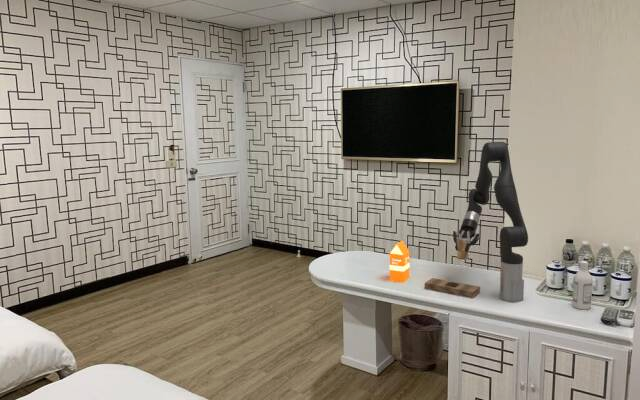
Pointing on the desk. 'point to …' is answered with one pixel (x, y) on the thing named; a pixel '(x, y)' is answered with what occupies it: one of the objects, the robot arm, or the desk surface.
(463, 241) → the tan cylinder
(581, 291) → the bath foam
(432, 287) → the brown wooden slotted board
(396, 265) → the orange juice
